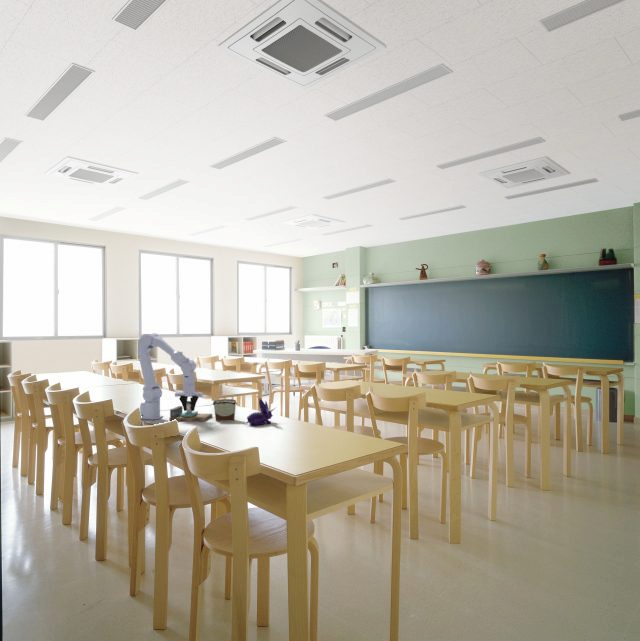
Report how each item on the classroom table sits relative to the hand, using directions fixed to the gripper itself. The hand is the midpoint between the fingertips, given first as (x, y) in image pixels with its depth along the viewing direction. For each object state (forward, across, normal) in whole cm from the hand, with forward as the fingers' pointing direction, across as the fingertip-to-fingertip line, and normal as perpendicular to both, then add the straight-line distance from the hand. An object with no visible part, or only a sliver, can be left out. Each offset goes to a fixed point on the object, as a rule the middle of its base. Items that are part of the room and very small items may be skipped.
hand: (189, 410), depth 250 cm
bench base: (+4, -1, 0) cm, 4 cm away
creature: (+4, -40, +8) cm, 41 cm away
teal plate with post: (+2, 0, 0) cm, 2 cm away
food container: (+4, -20, 0) cm, 20 cm away
